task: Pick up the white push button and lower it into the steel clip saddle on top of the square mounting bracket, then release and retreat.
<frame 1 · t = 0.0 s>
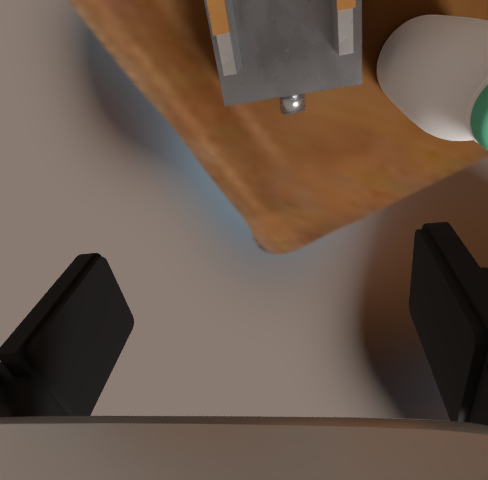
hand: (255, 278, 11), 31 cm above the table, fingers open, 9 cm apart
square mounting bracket: (283, 1, 33), on the table
milk bottle: (416, 61, 35), on the table
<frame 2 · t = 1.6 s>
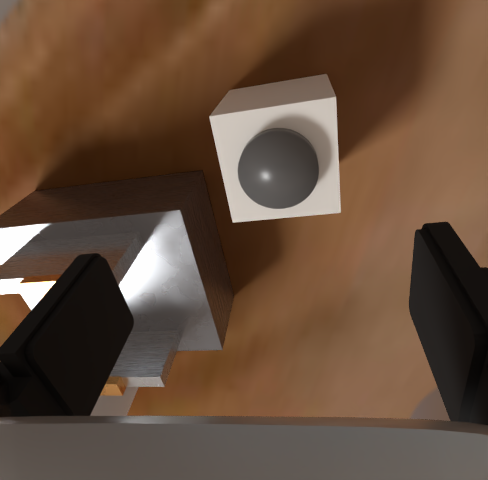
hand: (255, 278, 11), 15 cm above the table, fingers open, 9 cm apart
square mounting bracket: (139, 246, 31), on the table
milk bottle: (116, 344, 38), on the table
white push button: (282, 130, 24), on the table
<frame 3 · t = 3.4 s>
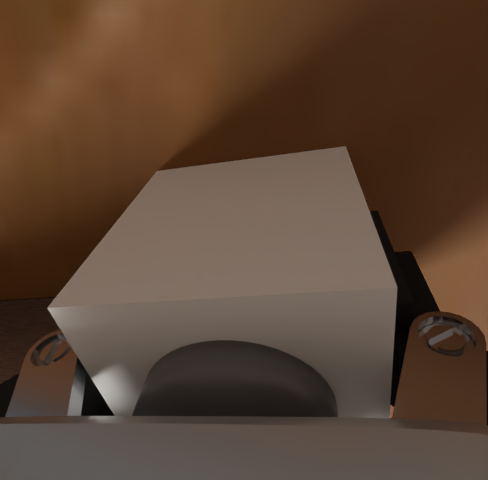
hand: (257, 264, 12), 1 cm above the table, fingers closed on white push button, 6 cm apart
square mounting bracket: (45, 385, 19), on the table
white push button: (260, 239, 13), on the table, touching gripper
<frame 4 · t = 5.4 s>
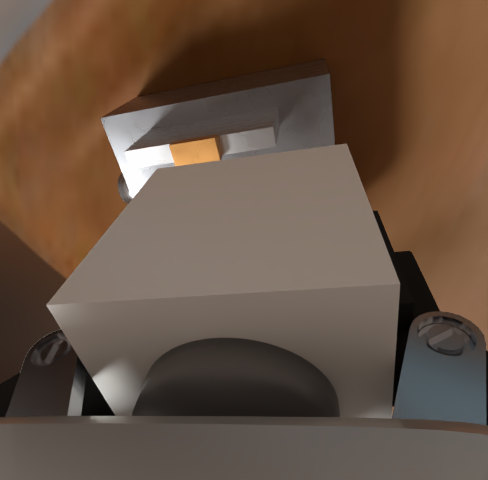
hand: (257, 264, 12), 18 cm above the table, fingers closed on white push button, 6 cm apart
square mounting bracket: (242, 158, 29), on the table
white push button: (261, 237, 13), point 17 cm above the table, touching gripper
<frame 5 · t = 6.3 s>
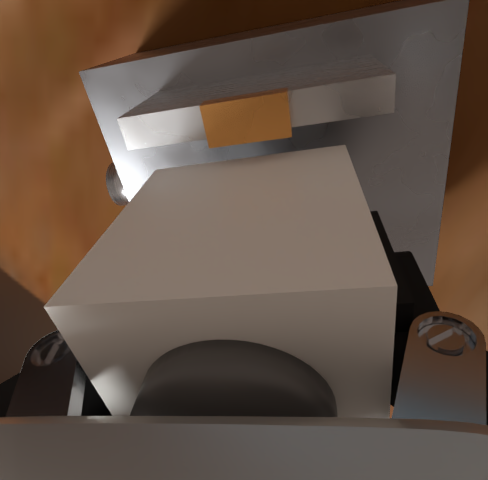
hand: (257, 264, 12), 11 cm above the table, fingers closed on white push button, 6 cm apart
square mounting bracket: (280, 145, 21), on the table
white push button: (260, 238, 13), point 10 cm above the table, touching gripper
when the fingers open (8 cm above the table, at t = 7.3 s): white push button stays where it is, resting on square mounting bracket.
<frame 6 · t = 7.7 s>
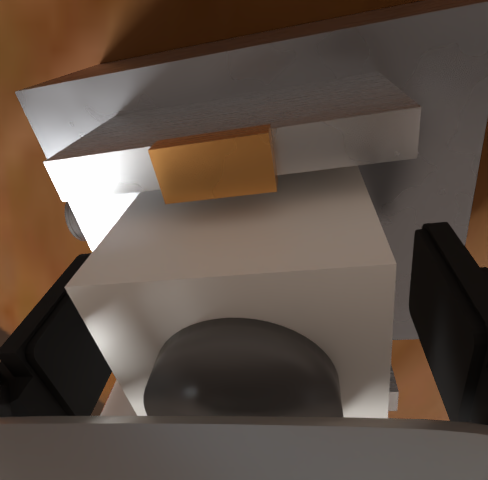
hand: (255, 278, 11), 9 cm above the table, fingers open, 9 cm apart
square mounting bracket: (270, 169, 18), on the table
milk bottle: (196, 336, 26), on the table
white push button: (264, 230, 13), point 6 cm above the table, touching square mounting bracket
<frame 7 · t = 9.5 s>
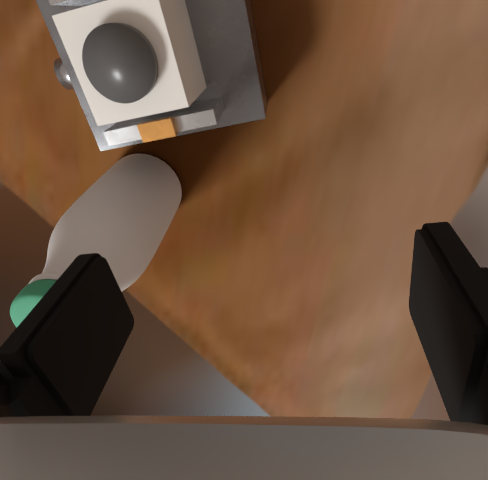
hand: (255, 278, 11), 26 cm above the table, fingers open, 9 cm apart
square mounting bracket: (174, 46, 31), on the table
milk bottle: (147, 185, 39), on the table
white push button: (155, 52, 26), point 6 cm above the table, touching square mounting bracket
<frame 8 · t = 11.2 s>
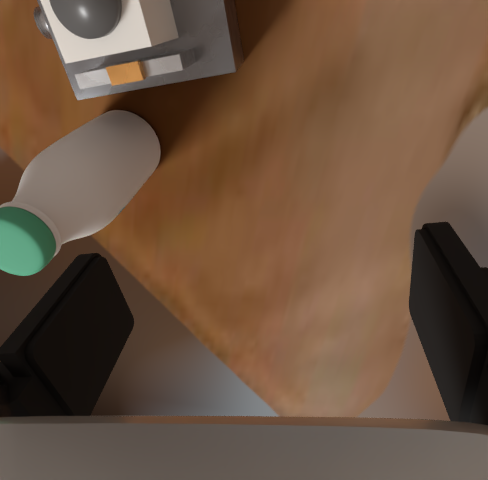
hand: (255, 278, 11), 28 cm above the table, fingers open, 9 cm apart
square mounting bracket: (153, 0, 32), on the table
milk bottle: (128, 144, 39), on the table
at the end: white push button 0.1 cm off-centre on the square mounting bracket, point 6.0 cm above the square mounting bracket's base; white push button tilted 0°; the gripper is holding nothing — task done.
